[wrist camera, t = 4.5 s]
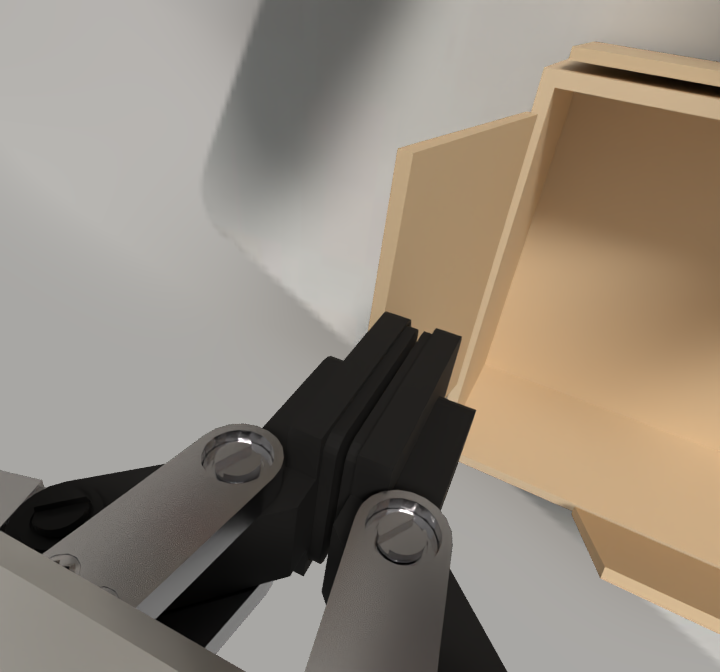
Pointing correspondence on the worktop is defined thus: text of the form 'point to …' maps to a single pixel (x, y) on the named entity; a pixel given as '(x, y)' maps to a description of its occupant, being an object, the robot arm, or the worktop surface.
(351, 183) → the worktop surface
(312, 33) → the worktop surface
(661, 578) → the side flap
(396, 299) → the end flap
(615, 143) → the carton
